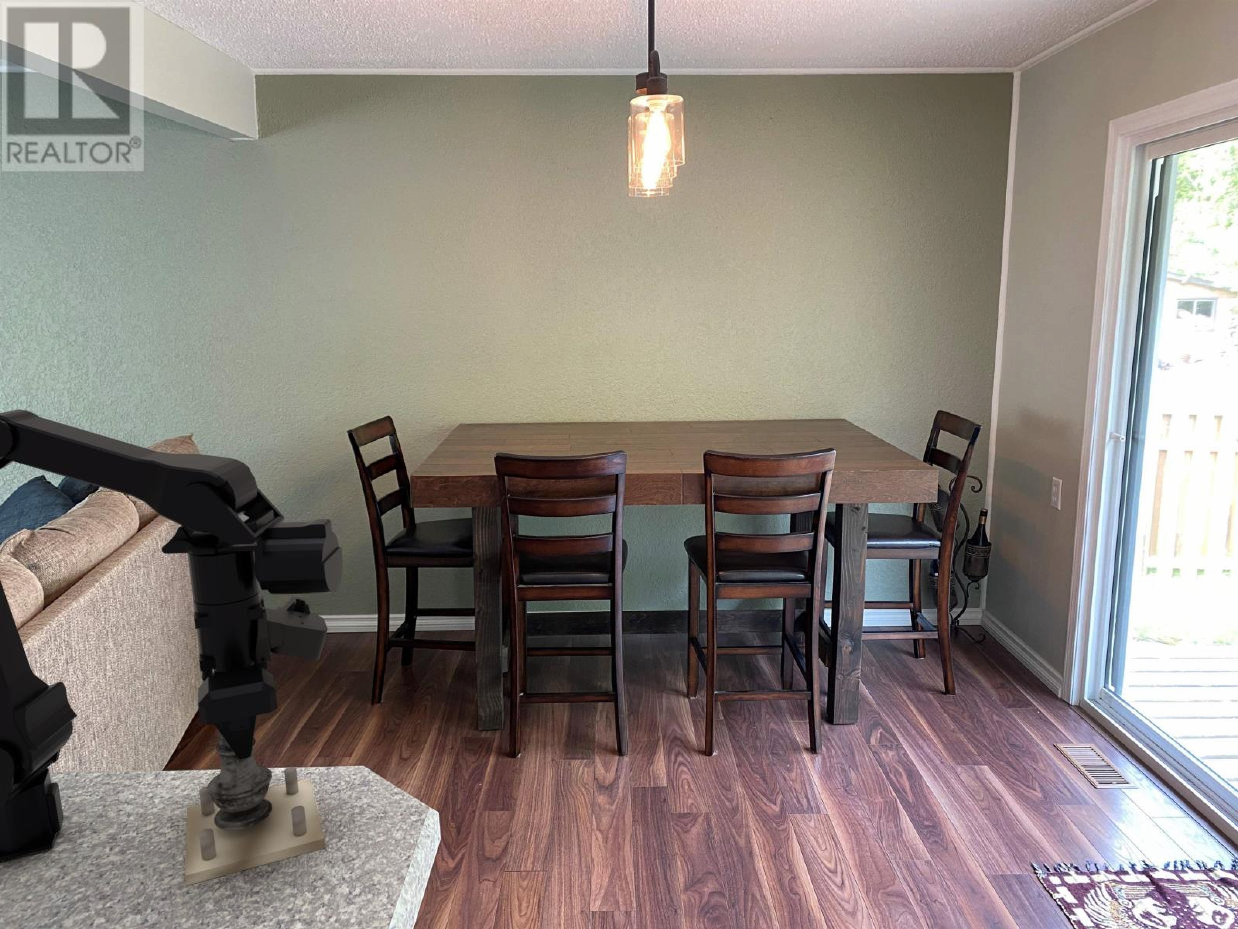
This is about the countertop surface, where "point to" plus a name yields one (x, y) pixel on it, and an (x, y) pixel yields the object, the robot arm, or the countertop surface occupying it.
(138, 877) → the countertop surface
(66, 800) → the countertop surface
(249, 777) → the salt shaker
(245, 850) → the pin board
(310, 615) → the robot arm
